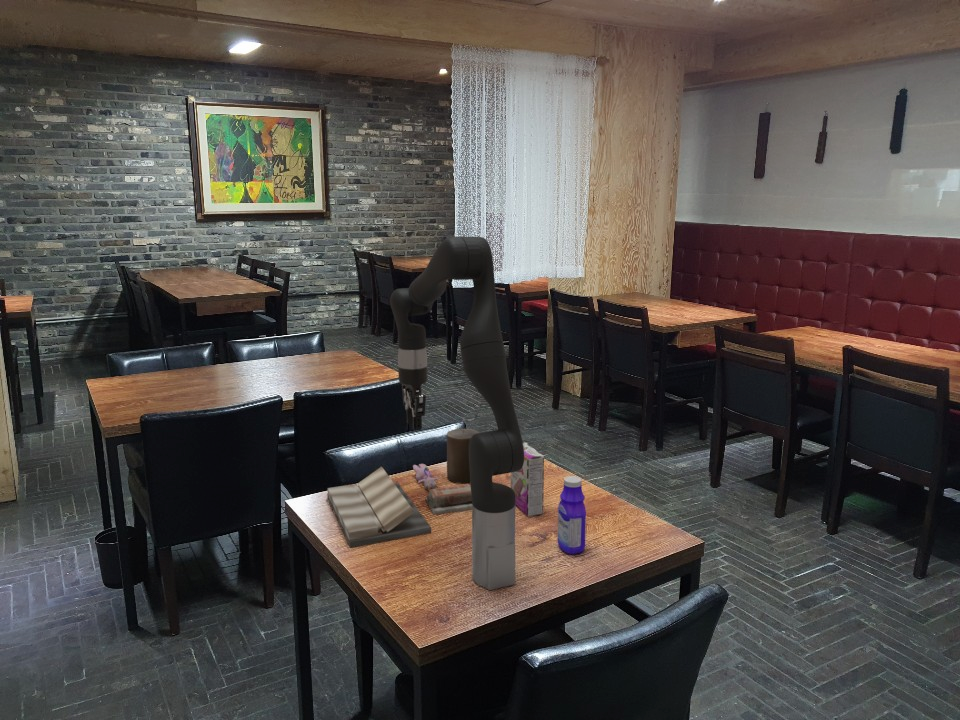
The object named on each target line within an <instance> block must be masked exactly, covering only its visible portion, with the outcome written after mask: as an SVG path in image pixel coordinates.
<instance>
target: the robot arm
mask: <svg viewBox="0 0 960 720" xmlns="http://www.w3.org/2000/svg"><path fill="white" fill-rule="evenodd" d="M448 280H454V281H464V280H465V281H466V280H467V281H468V280H470V281H471V280H472V283H473V285H472V286H473V303H472V307H471V310H470V312H469V315H468V317H467V319H466V322H465V324H464V326H463V329H462V332H461V333H460V339H459V348H460V353H461V360H462V367H463V371H464V374H465V375H466V377H467V379H468V380H469V382H470V383H471V384H472V385H473V387H474V388H475V389H476V390H477V392H478V393H479V394H480V395H481V397H483V399H484V400H485V401H486V403H487V404H488V406H489V408H490V409H491V411H492V413H493V416H494V419H495V423H496V426H497V427H496V428H497V429H495V430H490V431H483V432H479V433H476V434H474V435H473V436H472V437H471V439H470V442H469V467H470V483H469V485H470V487H471V494H472V510H471V536H472V537H471V544H472V545H471V552H472V553H471V559H472V560H471V561H472V565H471V566H472V567H471V568H472V569H471V572H472V577H471V579H472V580H473V582H474V583H475V584H477V585H478V586H481V587H484V588H486V589H487V590H488V591H491V590H496V589H500V588H505V587H509V586H514V585H515V584H516V496H515V492H514V490H513V489H512V488H511V486H508V485H506V484H503V483H498V482H494V481H493V477H494V476H500V475H505V474H511V472H516V471H519V470H520V469H521V468H522V467H523V464H524V447H523V443H524V442H523V437H522V434H521V429H520V426H519V422H518V417H517V413H516V409H515V405H514V400H513V396H512V391H511V385H510V384H511V383H510V379H509V373H508V368H507V367H508V365H507V357H506V351H505V346H504V339H503V334H502V330H501V324H500V318H499V311H498V305H497V304H498V303H497V297H496V296H497V293H496V282H495V269H494V257H493V252H492V249H491V245H490V244H489V241H488V240H487V239H486V238H485V237H482V236H451V237H447V238H445V239H443V241H441V242H440V244H439V245H438V247H437V248H436V249H435V252H434V253H433V255H432V257H431V258H430V259H429V262H428V263H427V266H426V267H425V269H424V270H423V272H422V273H420V274H419V275H418V276H417V277H416V278H415V279H413V281H412V282H411V283H410V285H409V287H405V288H404V287H402V288H397V289H395V290H393V292H392V293H391V296H390V298H389V299H390V300H389V304H390V308H391V311H392V314H393V317H394V320H395V324H396V329H397V336H398V353H397V367H398V370H397V371H398V373H397V374H398V382H399V383H400V384H401V391H402V405H403V406H404V409H405V411H406V423H407V424H408V425H412V429H413V431H415V432H416V431H422V428H423V424H422V418H423V417H424V416H425V415H426V400H427V399H426V398H427V396H426V394H424V391H423V389H422V385H424V384H426V383H427V382H428V353H427V338H426V337H427V336H426V328H425V326H424V325H422V324H420V323H412V322H410V321H409V317H410V316H411V317H412V316H421V315H422V316H423V315H425V314H428V313H429V312H431V311H432V308H433V305H434V302H436V301H437V300H438V299H439V298H440V297H441V296H443V294H444V292H445V291H446V288H447V281H448Z"/></svg>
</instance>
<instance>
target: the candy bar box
mask: <svg viewBox="0 0 960 720" xmlns="http://www.w3.org/2000/svg"><path fill="white" fill-rule="evenodd" d="M523 447H524V464H523V467H522V468H521V469H520V470H519V471H516V472H511V473H510V488H512V489H513V490H514V492H515V496H516V505H515V507H516V508H518V510H520V511H521V512H522V513H523V514H524V516H526V517H527V518H530V517H534V516H535V517H536V516H540V515H544V486H545V485H544V484H545V482H544V481H545V480H544V479H545V477H544V476H545V475H544V474H545V473H544V472H545V455H543V454H541V452H539V451H538V450H536V449H535V448H534V447H533V446H532V445H530V444H529V443H527V442H523Z"/></svg>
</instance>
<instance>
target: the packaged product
mask: <svg viewBox="0 0 960 720" xmlns="http://www.w3.org/2000/svg"><path fill="white" fill-rule="evenodd" d="M424 499H425V501H426V503H427V505H428V507H429V508H430V511H431V512H432V514H433V516H434V515H435V514H436V515H443V514H449V513H459V512H466V511H467V512H468V511H472V494H471V487H470V484H466V485H465V484H464V485H455V486H446V487H438V488H437V487H436V488H435V489H432V488H430V490H429V491H428V494H427V495H426V497H425V498H424Z"/></svg>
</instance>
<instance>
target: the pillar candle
mask: <svg viewBox="0 0 960 720" xmlns="http://www.w3.org/2000/svg"><path fill="white" fill-rule="evenodd" d="M476 433H480V432H479V430H476V429H474V428H473V429H471V428H456V429H451V430H448V431H447V432H446V478H447V479H448V480H449V481H450V482H452V483H456V484H468V483H469V484H470V467H469V442H470V439H471V437H472V436H473V435H474V434H476Z"/></svg>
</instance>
